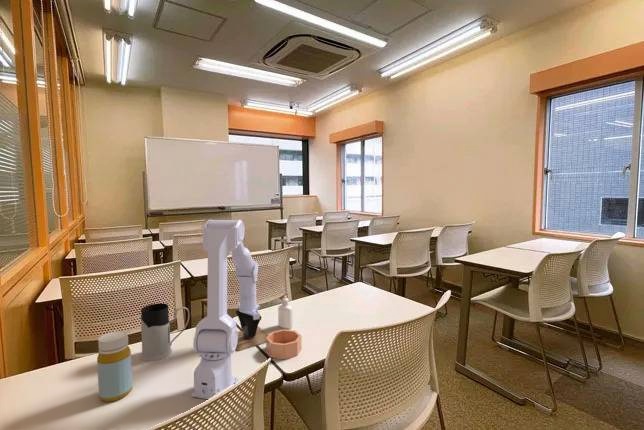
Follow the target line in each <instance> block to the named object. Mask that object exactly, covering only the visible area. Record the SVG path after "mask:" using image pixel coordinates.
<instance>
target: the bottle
mask: <svg viewBox="0 0 644 430" xmlns="http://www.w3.org/2000/svg"><path fill="white" fill-rule="evenodd" d="M97 343H98V355H97V358H96V359H97V364H96V365H97V366H96V367H97V381H98V384H97V385H98V397H99V400H101V401H103V402H106V403H111V402H116V401H119V400H121V399H123V398H125V397H126V396H127V395H129V393H130V392H131V391H132V390H133V373H132V353H131V351H132V350H131V348H130V347H129V333H128V332H127V331H125V330H115V331H111V332H108V333H104V334H102V335H101V336H100V337H98V340H97Z"/></svg>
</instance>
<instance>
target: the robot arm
mask: <svg viewBox="0 0 644 430" xmlns="http://www.w3.org/2000/svg"><path fill="white" fill-rule="evenodd" d="M245 231H246V230H245V224H244V222H243V220H242V219H208V220H207V221H206V222H205V223H204V225H203V227H202V248H203V250H205V251H206V252H207V292H206V293H207V295H206V296H207V301H206V302H207V303H206V304H207V305H206V306H207V308H206V309H207V310H206V311H207V313H206V314H207V315H206V316H205V317H204V318H202V319H200V321H199V322H198V323H197V324H196V325H195V332H194V333H195V334H194V336H193V343H192V344H193V348H194V351H195V352H196V353H198V357H199V358H201V359H200V362H199V363H198V365H197V366H196V368H195V369H194V372H193V391H192V393H191V397H193V398H199V399H204V400H209V398H211V397H213V396H214V395H216V394H218V393H220V392H221V391H222V390H224V389H226V388H227V387H229V386H231V385H232V384H234V383H235V382H236V383H237V382H238V381H239V377H235V376H232V374H233V373H232V372H233V371H232V354H233V353H234V352H235V351H236V346H237V342H238V332H239V331H238V329H237V321H236V320H235V319H234V318H232V317H231V315H229V314H228V255H229V254H230V252H232V253H231V258H232V261H233V263H234V265H235V267H234V269H235V275H236V277H237V278H238V288H239V290H238V292H239V295H238V297H239V301H237V308H238V310H236V311H235V314H236V316H237V318H238V319H239V324H240V327H241V331H243V327H244V326H247V329H248V335H249V337H254V336H255V335H256V331H257V327H259V324H260V322H261V320H262V316H261V313H260V312H259V309H260V307H261V306H260V305H259V304H258V303H257V302H258V301H257V281H258V273H259V263H258V262H257V261H256V260H254V259H253V257H252V255H251V252H250V250H249V249H248V247H245V246H244V242H243V240H244V238H245V233H246V232H245ZM236 383H235V384H236ZM235 384H234V385H235Z"/></svg>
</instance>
